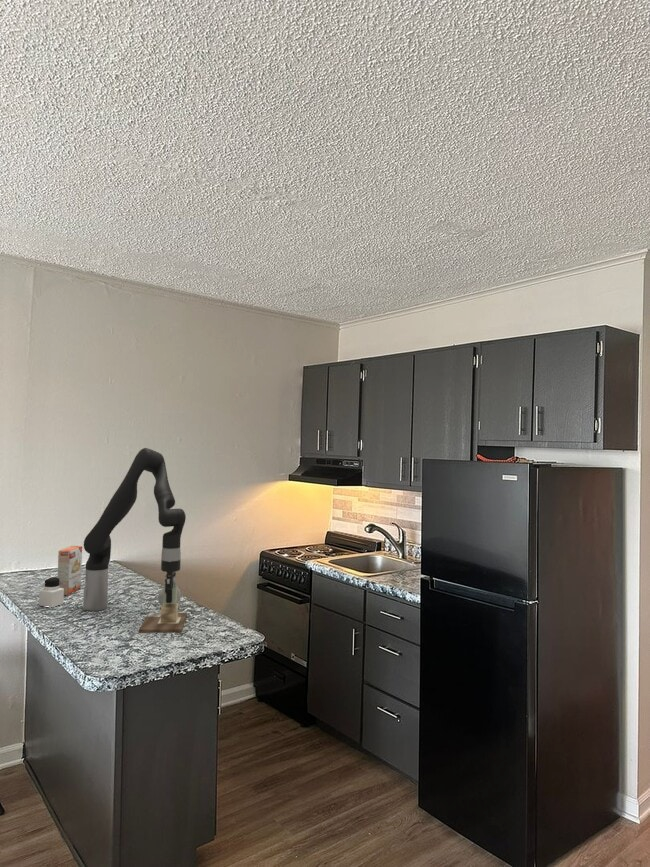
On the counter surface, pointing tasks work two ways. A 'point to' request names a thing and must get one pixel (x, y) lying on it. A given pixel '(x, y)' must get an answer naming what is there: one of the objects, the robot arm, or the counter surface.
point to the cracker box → (70, 568)
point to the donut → (160, 596)
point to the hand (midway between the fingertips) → (169, 600)
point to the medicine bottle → (51, 593)
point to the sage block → (174, 595)
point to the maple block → (169, 613)
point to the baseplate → (162, 624)
